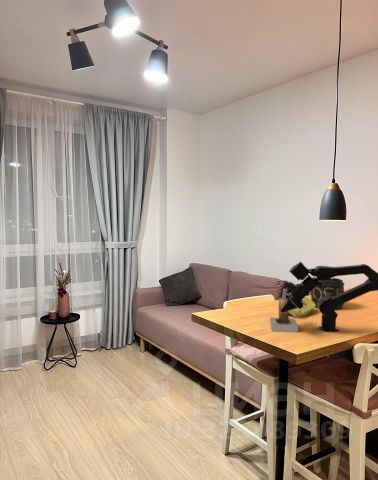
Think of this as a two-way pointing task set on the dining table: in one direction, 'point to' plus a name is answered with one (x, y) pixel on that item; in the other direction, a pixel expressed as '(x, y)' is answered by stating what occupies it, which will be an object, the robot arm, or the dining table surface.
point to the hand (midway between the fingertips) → (280, 310)
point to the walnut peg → (283, 316)
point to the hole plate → (283, 325)
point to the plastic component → (303, 308)
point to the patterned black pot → (328, 290)
